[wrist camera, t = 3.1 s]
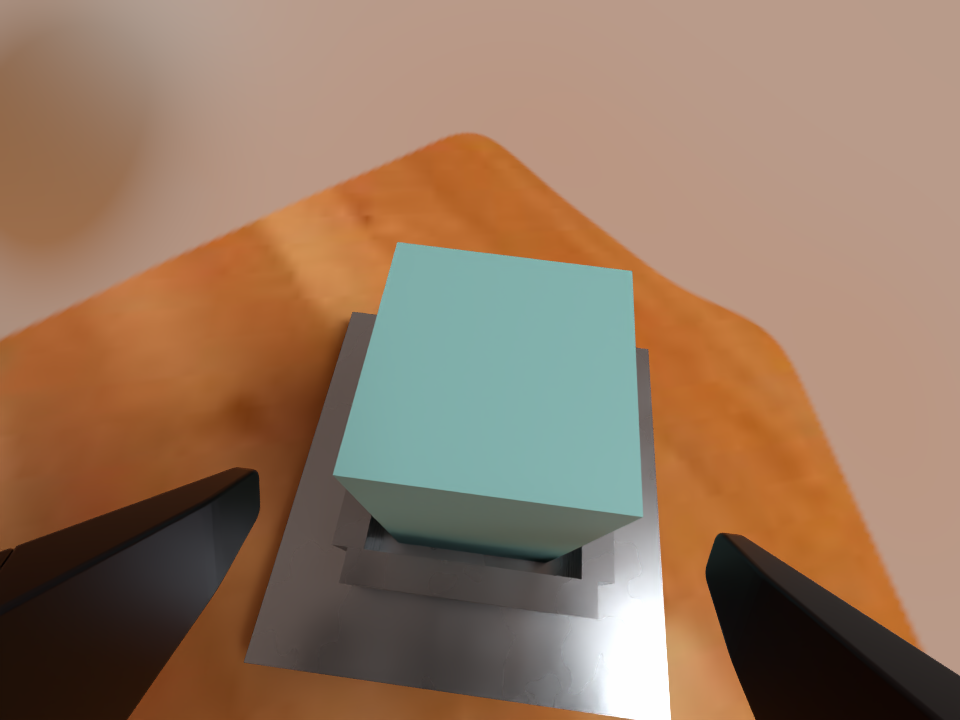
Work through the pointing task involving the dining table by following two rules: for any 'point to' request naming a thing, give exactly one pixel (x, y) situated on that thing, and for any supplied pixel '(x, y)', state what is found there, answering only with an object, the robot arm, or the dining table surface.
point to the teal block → (497, 405)
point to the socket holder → (464, 593)
